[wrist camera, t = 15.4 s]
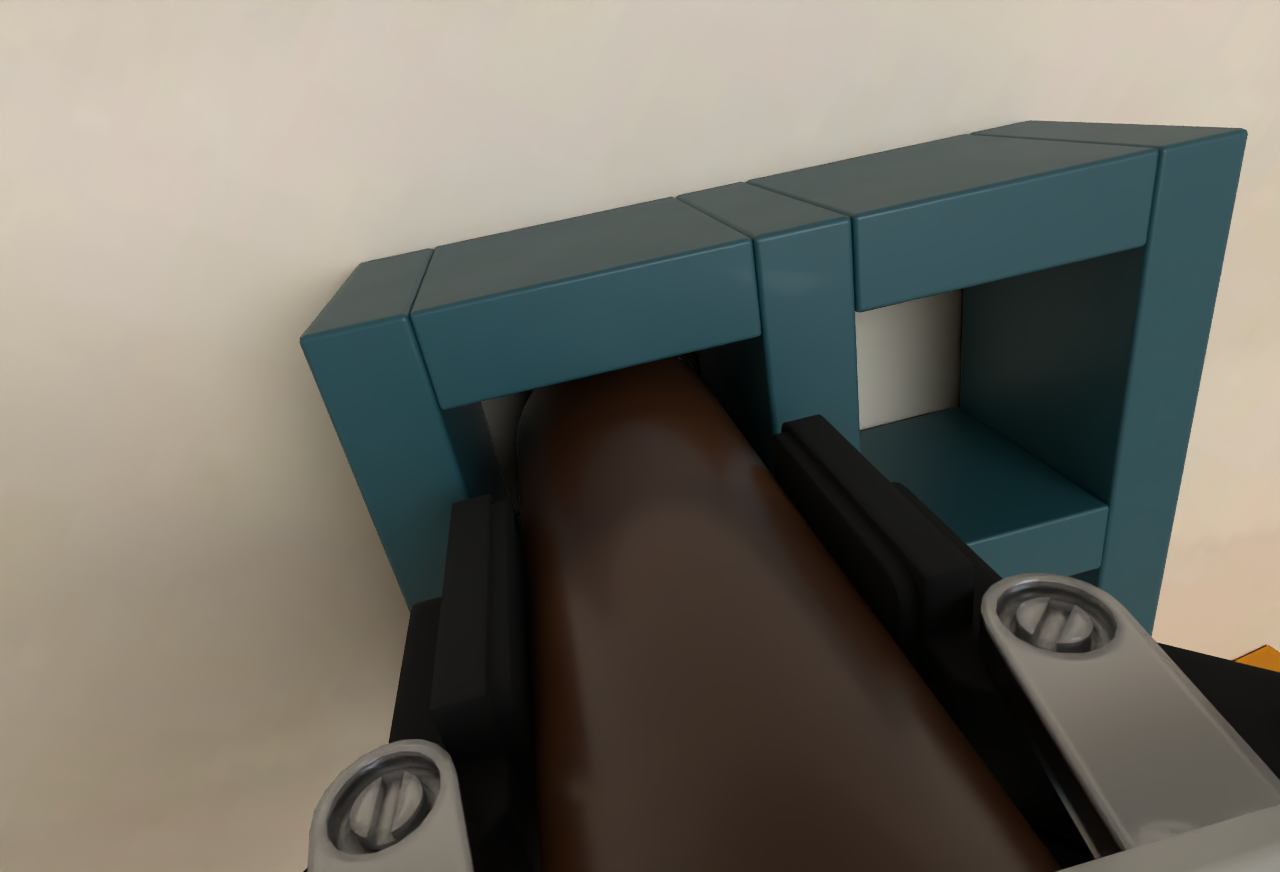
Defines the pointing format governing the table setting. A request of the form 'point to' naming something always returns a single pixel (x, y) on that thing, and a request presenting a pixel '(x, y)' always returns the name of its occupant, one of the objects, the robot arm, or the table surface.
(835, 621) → the peg
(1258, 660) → the orange juice
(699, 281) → the teal square grid frame
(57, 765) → the table surface
